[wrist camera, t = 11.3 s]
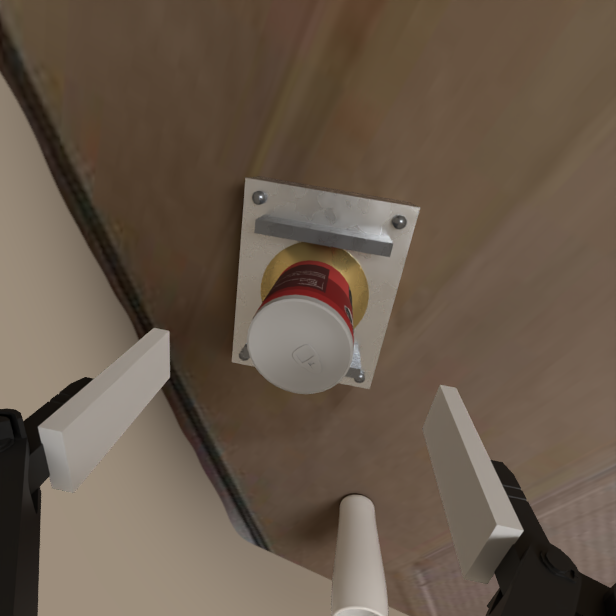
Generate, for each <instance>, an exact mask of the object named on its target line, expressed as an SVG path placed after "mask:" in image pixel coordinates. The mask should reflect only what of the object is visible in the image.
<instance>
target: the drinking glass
mask: <svg viewBox="0 0 616 616" xmlns="http://www.w3.org/2000/svg"><path fill="white" fill-rule="evenodd" d="M331 616H389V611H388V597H387V588H386V581H385V574H384V568H383V562H382V556H381V550H380V544H379V538H378V532H377V526H376V519H375V508H374V505H373V503H372V501H371V500H370V499H368V498H367V497H365V496H363V495H358V494H353V495H349V496H347V497H345V498H344V499H343V500H342V501H341V503H340V509H339V524H338V533H337V542H336V551H335V560H334V568H333V578H332V595H331Z"/></svg>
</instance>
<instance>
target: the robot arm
mask: <svg viewBox="0 0 616 616" xmlns="http://www.w3.org/2000/svg"><path fill="white" fill-rule="evenodd" d="M169 378H170V344H169V331H167V330H162V329H157V328H153V329H152V330H151V331H150V332H149V333H147V334H146V335H145V336H144V337H143V338H141V339H140V340H139V341H138V342H137V343H136V344H134V345H133V346H132V347H131V348H130V349H129V350H127V351H126V352H125V353H124V354H123V355H122V356H120V357H119V358H118V359H117V360H116V361H115V362H114V363H112V364H111V365H110V366H109V367H107V368H106V369H105V370H104V371H103V372H102V373H100V374H99V375H98V376H97V377H96V378H94V379H92V378H87V377H84V378H82V379H80V380H78V381H76V382H73V383H71V384H70V385H68V386H67V387H66V388H65V389H63V390H62V391H61V392H60V393H59V395H58V394H57V395H56V396H55V397H53V398H52V399H51V400H50V402H47V403H46V404H45V405H43V406H42V407H41V408H40V409H38V410H37V411H36V412H35V413H33V414H32V415H31V416H30V417H29V418H27V419H26V420H25V421H23V419H22V416H21V413H20V412H18V411H17V410H14V409H0V616H37V612H38V581H39V548H40V515H41V514H40V513H41V490H40V486H41V484H42V483H43V482H44V481H45V480H46V479H47V478H48V477H50V482H51V486H52V488H53V489H58V490H62V491H67V492H72V493H74V492H75V491H76V490H77V489H78V487H79V486H80V485H81V484H82V482H83V481H84V480H85V479H86V478H87V476H88V475H89V474H90V473H91V472H92V470H93V469H94V468H95V467H96V466H97V464H98V463H99V462H100V461H101V460H102V458H103V457H104V456H105V455H106V454H107V452H108V451H109V450H110V449H111V448H112V446H113V445H114V444H115V443H116V441H117V440H118V439H119V438H120V437H121V435H122V434H123V433H124V432H125V431H126V430H127V428H128V427H129V426H130V425H131V424H132V422H133V421H134V420H135V418H136V417H137V416H138V415H139V414H140V413H141V411H142V410H143V409H144V408H145V407H146V405H147V404H148V403H149V402H150V401H151V399H152V398H153V397H154V396H155V395H156V393H157V392H158V391H159V390H160V389H161V387H162V386H163V385H164V384H165V383H166V381H167V380H168V379H169ZM422 430H423V433H424V437H425V440H426V444H427V448H428V451H429V455H430V459H431V462H432V466H433V470H434V473H435V477H436V481H437V484H438V488H439V491H440V495H441V499H442V502H443V506H444V510H445V513H446V517H447V521H448V524H449V528H450V532H451V535H452V539H453V543H454V546H455V550H456V553H457V557H458V561H459V564H460V568H461V572H462V575H463V579H466V580H471V581H475V582H480V583H484V584H488V582H489V581H490V580H491V578H492V577H493V575H494V574H495V575H496V578H497V581H498V584H499V587H500V588H499V589H498V591H497V592H496V594H495V595H494V596H493V598H492V599H491V601H490V602H489V604H488V605H487V607H488V608H489V610H488V612H487V614H486V616H616V583H615V584H614V585H613V586H612V587H611V588H609V587H607V586H605V585H603V584H601V583H600V582H598V581H596V580H594V579H592V578H590V577H588V576H586V575H584V574H582V573H580V572H579V571H578V569H577V567H576V566H575V564H574V563H573V562H572V561H571V559H570V558H569V557H568V556H567V555H566V554H565V553H564V552H562V551H561V550H560V549H559V548H557V547H555V546H554V545H552V544H550V542H549V541H548V539H547V537H546V535H545V533H544V531H543V529H542V527H541V525H540V524H539V522H538V520H537V518H536V516H535V514H534V512H533V510H532V508H531V506H530V505H529V503H528V502H527V501H526V497H525V495H524V493H523V491H521V487H520V486H519V484H518V482H517V480H516V478H515V476H514V475H513V473H512V472H511V471H510V470H509V469H508V468H507V467H506V466H505V465H504V463H503V462H498V461H493V460H490V458H489V456H488V454H487V452H486V450H485V448H484V446H483V444H482V441H481V439H480V437H479V435H478V433H477V431H476V429H475V427H474V425H473V422H472V420H471V418H470V416H469V414H468V412H467V410H466V408H465V406H464V403H463V401H462V399H461V397H460V395H459V393H458V391H457V389H456V388H454V387H449V386H444V385H440V386H439V388H438V391H437V393H436V396H435V398H434V401H433V403H432V406H431V408H430V411H429V413H428V416H427V418H426V421H425V423H424V426H423V428H422Z"/></svg>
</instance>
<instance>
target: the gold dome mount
mask: <svg viewBox="0 0 616 616" xmlns="http://www.w3.org/2000/svg"><path fill="white" fill-rule="evenodd" d="M419 210H420V207H418V206H416V205H414V204H412V203H410V202H404V201H399V200H393V199H387V198H381V197H375V196H369V195H364V194H358V193H352V192H346V191H340V190H334V189H329V188H323V187H317V186H311V185H305V184H300V183H294V182H288V181H282V180H276V179H270V178H265V177H248V178H245V191H244V204H243V218H242V231H241V245H240V258H239V272H238V285H237V299H236V312H235V326H234V339H233V353H232V362H234V363H239V364H244V365H249V366H254V364H253V362H252V360H251V358H250V356H249V352H248V348H247V335H248V329H249V326H250V324H251V321H252V319H253V317H254V315H255V314H256V311H257V310H258V308H259V307H260V305H261V304H262V302H263V301H264V299H265V298H266V296H267V295H268V293H269V292H270V290H271V289H272V287H273V286H274V284H275V283H276V281H277V280H278V278H279V277H280V275H281V274H282V272H283V271H284V270H286V269H287V268H288V267H289V266H291V265H293V264H295V263H298V262H301V261H307V260H313V261H320V262H323V263H326V264H328V265H330V266H332V267H334V268H335V269H336V270H338V271H339V272H340V273H341V274H342V275H343V277H344V278H345V279H346V281H347V283H348V284H349V287H350V290H351V294H352V306H353V330H354V351H353V358H352V362H351V365H350V368H349V370H348V372H347V374H346V375H345V377H344V378H343V379H342V380H341V381H340V382H339V383H341V384H346V385H351V386H356V387H362V388H367V389H370V386H371V382H372V378H373V375H374V371H375V368H376V364H377V361H378V357H379V353H380V350H381V346H382V343H383V339H384V335H385V332H386V328H387V325H388V321H389V317H390V314H391V310H392V307H393V303H394V300H395V296H396V292H397V289H398V285H399V282H400V278H401V274H402V271H403V267H404V264H405V260H406V256H407V253H408V249H409V246H410V242H411V239H412V235H413V231H414V228H415V224H416V221H417V217H418V213H419ZM254 367H255V366H254Z"/></svg>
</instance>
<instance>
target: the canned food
mask: <svg viewBox="0 0 616 616" xmlns="http://www.w3.org/2000/svg"><path fill="white" fill-rule="evenodd" d="M247 348H248V352H249V356H250V358H251V360H252V362H253V364H254V366H255V367H256V369H257V370H258V371H259V373H260V374H261V375H262V376H263V377H264V378H265V379H266V380H268V381H269V382H271V383H272V384H273V385H275V386H277V387H279V388H281V389H283V390H286V391H289V392H293V393H299V394H314V393H318V392H323V391H325V390H327V389H330V388H332V387H333V386H335V385H336V384H338V383H339V382H340V381H341V380H342V379H343V378H344V377H345V375H346V374H347V372H348V370H349V368H350V365H351V362H352V358H353V351H354V330H353V306H352V294H351V290H350V287H349V284H348V283H347V281H346V279H345V278H344V277H343V275H342V274H341V273H340V272H339V271H338V270H336V269H335V268H334V267H332V266H330V265H328V264H326V263H323V262H320V261H313V260H307V261H301V262H298V263H295V264H293V265H291V266H289V267H288V268H287V269H286V270H284V271H283V272H282V274H281V275H280V277H279V278H278V280H277V281H276V283H275V284H274V286H273V287H272V289H271V290H270V292H269V293H268V295H267V296H266V298H265V299H264V301H263V302H262V304H261V305H260V307H259V308H258V310H257V311H256V314H255V315H254V317H253V319H252V321H251V324H250V326H249V329H248V335H247Z"/></svg>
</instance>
